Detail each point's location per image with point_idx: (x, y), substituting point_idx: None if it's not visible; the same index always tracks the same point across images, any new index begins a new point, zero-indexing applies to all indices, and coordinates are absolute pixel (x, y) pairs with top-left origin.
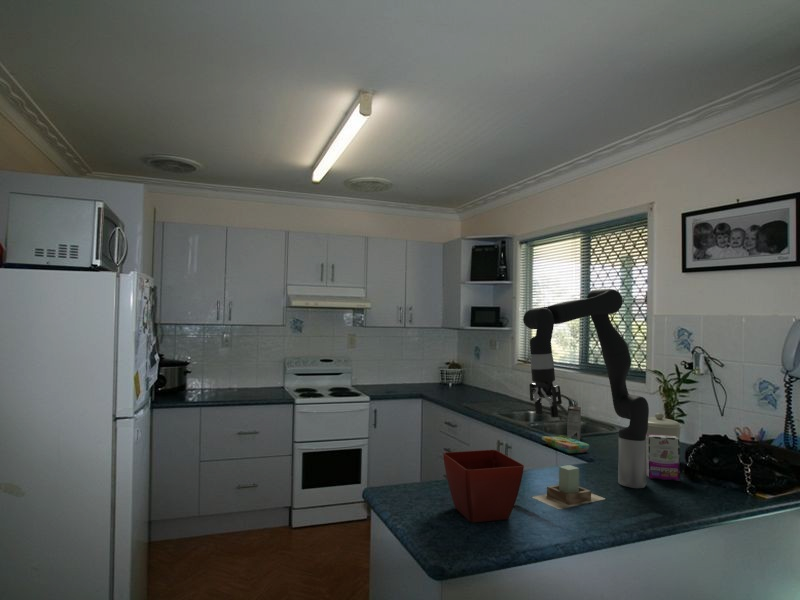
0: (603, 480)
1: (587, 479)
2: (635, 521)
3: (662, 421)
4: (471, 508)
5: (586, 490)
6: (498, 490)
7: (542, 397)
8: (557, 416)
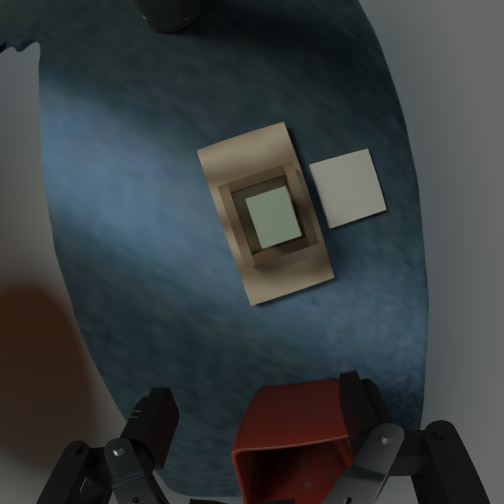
0: (133, 54)
1: (118, 85)
2: (383, 134)
3: None
4: (343, 446)
5: (287, 172)
6: None
7: (149, 482)
8: (355, 372)
